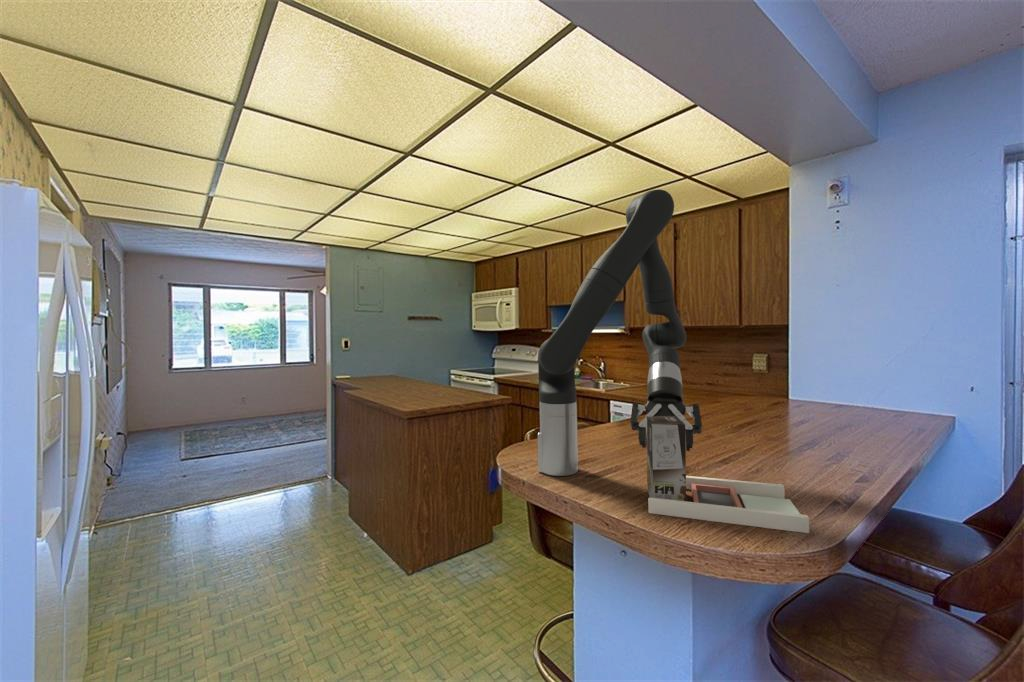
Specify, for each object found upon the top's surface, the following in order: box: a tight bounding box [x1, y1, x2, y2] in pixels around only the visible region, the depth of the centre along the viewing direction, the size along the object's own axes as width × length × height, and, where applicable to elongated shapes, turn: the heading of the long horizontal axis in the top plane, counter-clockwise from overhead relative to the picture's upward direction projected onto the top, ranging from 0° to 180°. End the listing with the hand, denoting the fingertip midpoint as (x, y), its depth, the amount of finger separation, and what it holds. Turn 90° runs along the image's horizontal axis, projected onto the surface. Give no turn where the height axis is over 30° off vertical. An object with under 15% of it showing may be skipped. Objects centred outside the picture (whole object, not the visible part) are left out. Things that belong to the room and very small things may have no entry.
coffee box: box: [645, 415, 687, 502], centre depth 82 cm, size 9×6×16 cm
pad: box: [739, 494, 801, 514], centre depth 76 cm, size 9×12×1 cm
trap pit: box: [691, 483, 743, 508], centre depth 79 cm, size 8×13×2 cm, turn 159°
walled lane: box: [647, 475, 810, 534], centre depth 79 cm, size 25×16×2 cm, turn 69°
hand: (665, 447), depth 84 cm, fingers open, 8 cm apart
